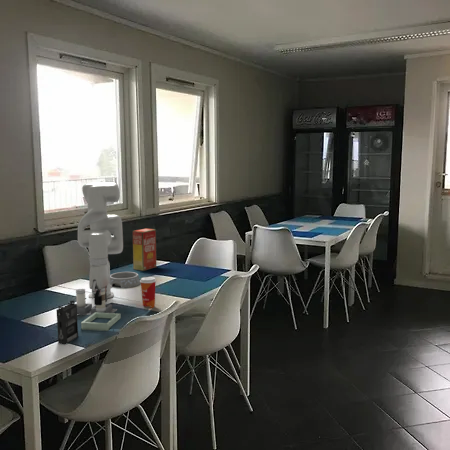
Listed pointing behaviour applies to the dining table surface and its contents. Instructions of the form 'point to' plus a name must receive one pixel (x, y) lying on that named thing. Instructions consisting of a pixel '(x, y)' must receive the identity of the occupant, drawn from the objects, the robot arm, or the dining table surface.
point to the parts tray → (100, 326)
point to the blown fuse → (102, 307)
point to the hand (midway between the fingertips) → (100, 302)
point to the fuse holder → (94, 309)
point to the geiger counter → (67, 323)
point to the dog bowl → (124, 279)
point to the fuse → (80, 298)
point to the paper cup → (148, 291)
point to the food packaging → (144, 249)
